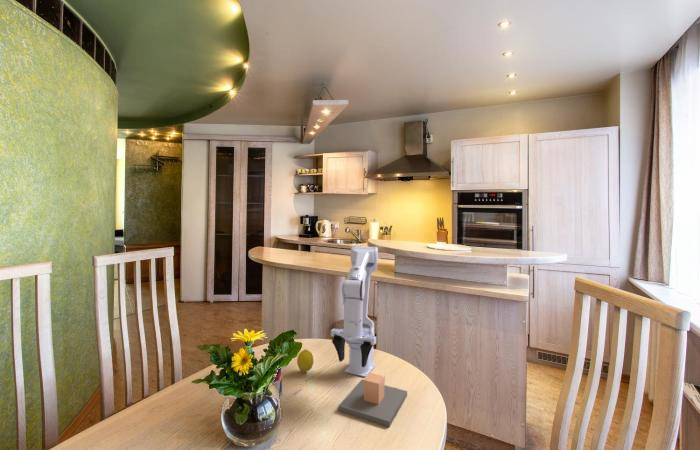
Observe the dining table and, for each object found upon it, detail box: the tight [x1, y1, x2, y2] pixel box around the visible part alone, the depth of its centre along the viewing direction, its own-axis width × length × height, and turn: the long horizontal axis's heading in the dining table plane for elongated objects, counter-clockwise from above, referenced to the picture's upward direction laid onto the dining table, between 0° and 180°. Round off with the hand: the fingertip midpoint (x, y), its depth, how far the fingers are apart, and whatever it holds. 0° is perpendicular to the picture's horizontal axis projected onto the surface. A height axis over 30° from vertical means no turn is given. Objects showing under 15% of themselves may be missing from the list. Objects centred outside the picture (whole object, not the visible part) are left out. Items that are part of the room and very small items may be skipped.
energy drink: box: [272, 367, 283, 397], centre depth 99 cm, size 5×5×12 cm
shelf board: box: [338, 379, 408, 428], centre depth 96 cm, size 16×15×2 cm
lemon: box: [296, 349, 314, 373], centre depth 113 cm, size 6×6×8 cm
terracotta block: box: [363, 372, 386, 404], centre depth 96 cm, size 5×5×6 cm
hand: (352, 362), depth 101 cm, fingers open, 7 cm apart
